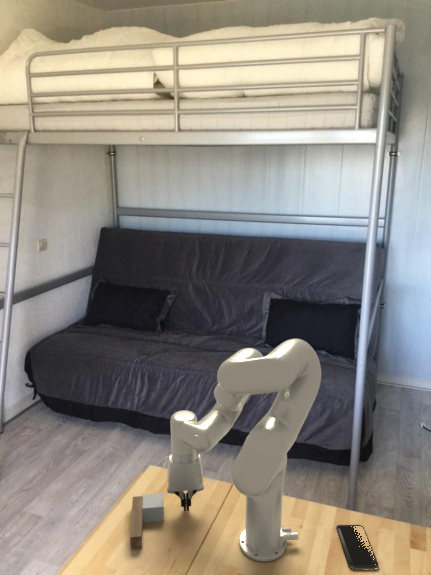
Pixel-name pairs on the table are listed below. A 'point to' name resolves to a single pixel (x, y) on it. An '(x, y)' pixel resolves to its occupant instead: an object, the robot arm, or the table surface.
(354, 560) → the phone
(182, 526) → the table surface
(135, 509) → the brown wooden bar
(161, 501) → the block
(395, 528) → the table surface
